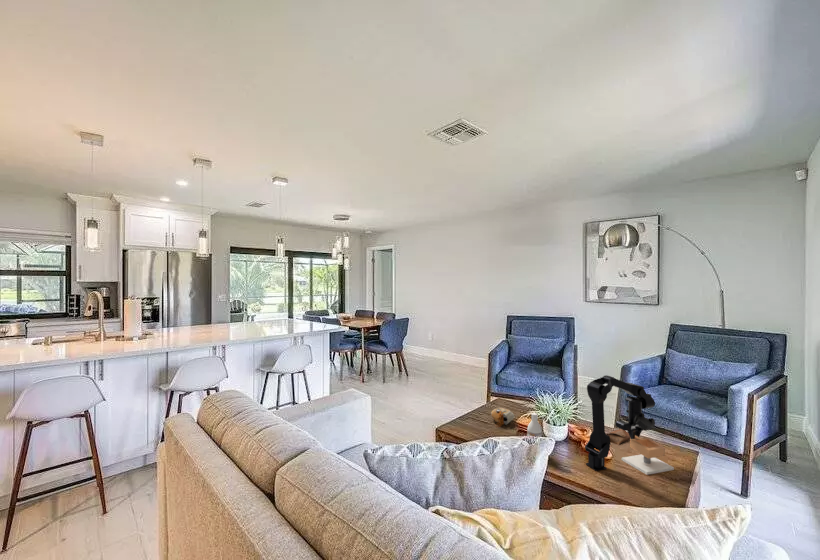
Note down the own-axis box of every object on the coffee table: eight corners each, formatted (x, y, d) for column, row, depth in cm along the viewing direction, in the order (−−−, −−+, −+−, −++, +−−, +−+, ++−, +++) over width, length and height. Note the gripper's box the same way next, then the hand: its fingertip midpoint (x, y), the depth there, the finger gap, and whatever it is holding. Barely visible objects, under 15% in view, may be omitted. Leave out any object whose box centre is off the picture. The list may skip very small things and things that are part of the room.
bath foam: (524, 451, 192) (524, 412, 192) (534, 448, 195) (535, 410, 195) (533, 457, 186) (534, 417, 186) (544, 454, 189) (544, 415, 188)
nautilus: (505, 432, 216) (481, 427, 225) (518, 419, 233) (495, 414, 242) (504, 419, 216) (480, 415, 224) (517, 406, 233) (495, 402, 242)
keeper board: (646, 474, 170) (646, 463, 170) (621, 460, 183) (621, 449, 183) (673, 469, 174) (673, 458, 174) (647, 455, 188) (647, 445, 188)
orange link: (648, 458, 173) (648, 450, 172) (623, 443, 186) (623, 435, 186) (664, 455, 175) (665, 447, 175) (639, 440, 189) (639, 433, 188)
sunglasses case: (619, 445, 199) (613, 432, 202) (608, 447, 204) (601, 435, 207) (636, 437, 209) (629, 425, 212) (624, 440, 214) (618, 428, 217)
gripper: (633, 417, 175) (633, 450, 175) (664, 413, 180) (664, 445, 180) (614, 409, 186) (614, 440, 186) (644, 405, 191) (643, 436, 191)
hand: (634, 440), depth 185 cm, fingers closed on orange link, 2 cm apart
